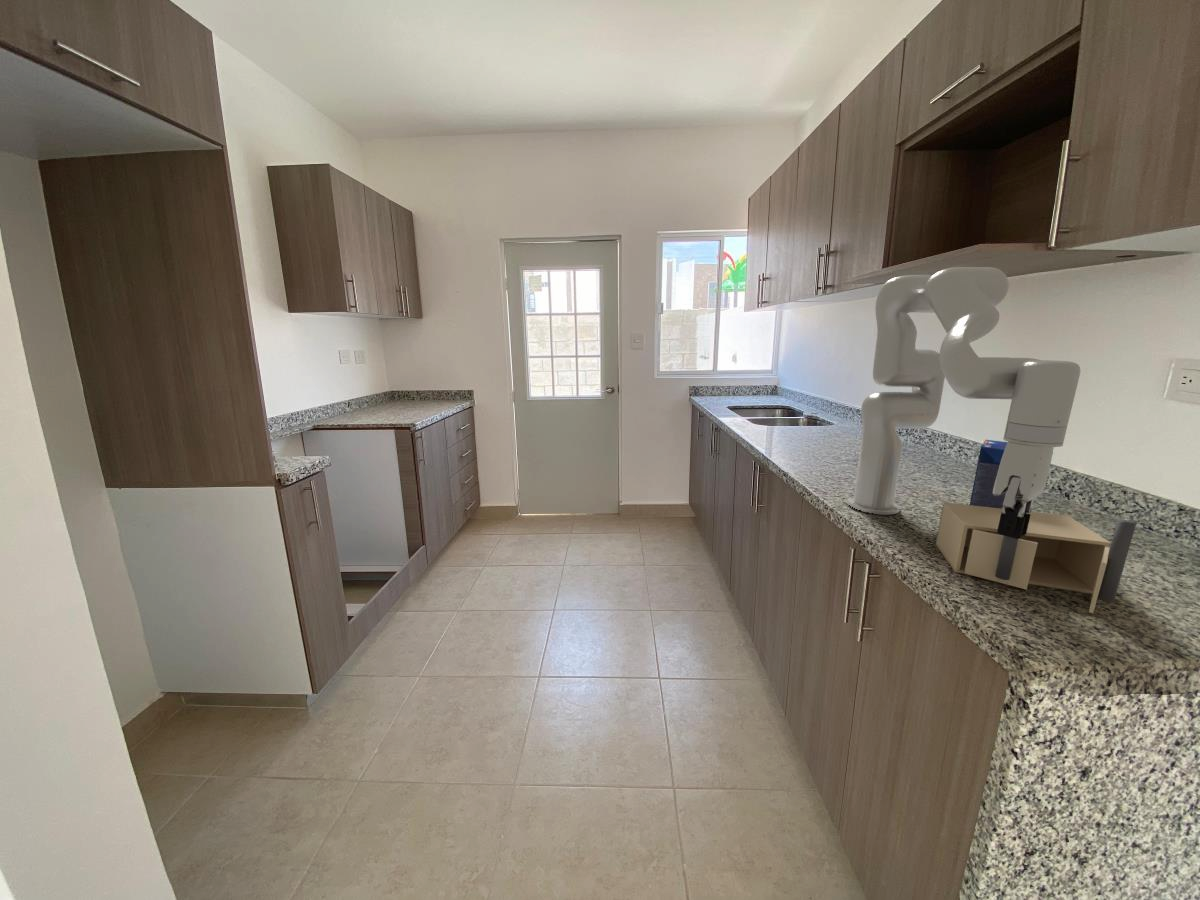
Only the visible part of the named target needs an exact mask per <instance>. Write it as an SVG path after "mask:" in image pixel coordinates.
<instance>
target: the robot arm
mask: <svg viewBox="0 0 1200 900" xmlns="http://www.w3.org/2000/svg"><path fill="white" fill-rule="evenodd" d="M1009 284H1010V283H1009V279H1008V277H1007V275H1006V273H1005V272H1003V270H1001V269H999V268H996V267H993V266H992V267H991V266H981V267H980V266H955V267H949V268H948V267H947V268H945V269H941V270H939V271H937V272H935V273H934V274H907V275H901V276H896V277H893V278H891V279H889V280H887V281H886V282H885V283H884V284H882V286H881V288H880V290H879V291H878V294H877V296H876V300H875V309H874V311H875V319H876V326H877V328H876V329H877V333H876V342H875V351H874V356H873V357H874V359H873V368H872V379H873V381H874V383H875V384H877V385H878V386H882V387H891V388H892V387H896V388H900V387H901V388H911V392H910V391H908V392H907V391H881V392H875V393H872V394H870V395H868V396H867V397H865V398H864V400H863V401H862V404H861V410H860V411H861V412H860V413H861V415H860V416H861V426H862V427H861V440H860V447H859V449H860V450H859V456H858V465H857V471H856V478H855V479H856V480H855V487H854V493H853V496H849V497H848V498H847V500H846V504H847V505H848V506H849V505H850V506H851V507H850V506H849V507H850V508H852V507H853V508H852V509H854V508H855V509H854V510H856V509H857V511H859V510H861V512H863V513H867V512H868V513H869V514H872V513H873V514H872V515H879V516H880V515H882V516H883V515H884V516H885V515H886V516H889V515H896V514H898V513H900V510H901V507H900V504H899V505H898V504H897V503H896V502H895V499H896V498H895V497H896V493H897V492H896V491H897V485H898V477H899V473H900V466H901V460H902V452H903V444H902V443H903V442H902V441H901V438H900V437H899V434H898V433H897V431H896V430H900V429H901V430H902V429H903V430H905V429H909V430H910V429H912V430H913V429H916V430H918V429H919V430H920V429H926V428H929V427H931V426H932V425H934V423H935V422H936V420H937V419H938V417H939V413H940V409H941V403H942V402H941V401H942V395H943V390H944V383H945V379H946V381H947V384H949V386H950V387H951V389H952V390H953V392H955V393H956V394H957V395H959V396H960V397H963V398H966V399H968V400H969V399H970V400H971V399H973V400H976V399H977V400H978V399H979V400H1011V402H1010V406H1009V411H1008V416H1007V420H1006V425H1005V429H1004V434H1003V435H1004V436H1003V441H1004V442H1008V443H1007V445H1006V447H1005V450H1004V453H1003V456H1002V459H1001V462H1000V466H999V469H998V473H997V477H996V480H995V484H994V488H993V492H992V493H993V495H994V496H1000V495H1002V494H1004V493H1006V494H1005V499H1004V502H1003V508H1002V513H1001V516H1000V521H999V525H998V530H997V533H998V534H1001V535H1004V536H1008V537H1012V538H1015V539H1020V538H1021V535H1025V534H1026V533H1027V528H1028V524H1029V520H1030V516H1031V514H1030V512H1032V508H1033V504H1034V500H1035V498H1037V497H1040V496H1041V494H1043V492H1044V491H1045V488H1046V484H1047V482H1048V477H1049V472H1050V469H1051V463H1052V458H1053V454H1054V449H1055V448H1059V447H1063V445H1064V442H1065V437H1066V433H1067V429H1068V425H1069V421H1070V417H1071V414H1072V408H1073V404H1074V401H1075V400H1074V399H1075V397H1076V391H1077V387H1078V385H1079V379H1080V376H1081V375H1080V374H1081V367H1080V365H1079V364H1078V363H1077V362H1074V361H1070V360H1069V361H1068V360H1041V359H1037V358H1031V357H1004V356H1003V357H999V356H998V357H993V356H991V357H990V356H989V357H988V356H986V357H985V356H984V357H979V356H978V354H977V353H976V352H975V351H974V349H973V347H972V346H971V344H970V343H972V342H975V341H977V340H979V339H981V338H983V337H984V336H986V335H988V334H989V333H991V332H992V330H994V329H995V328H996V326H997V325H998V323H999V321H1000V312H999V310H998V309H997V307H996V306H998V305H999V304H1000V303H1001V302H1003V300H1004V299H1005V298H1006V296H1007V294H1008V292H1009V286H1010V285H1009ZM909 313H921V314H922V313H931V314H932V313H933V314H934V313H935V316H936V317H937V319H938V320H939V322H940V324H941V325H942V327H943V328H944V331H945V332H946V335H945V337H944V339H943V340H942V342H941V346H940V349H939V352H938V351H936V350H932V349H920V348H919V349H916V341H917V334H918V332H917V331H918V330H917V326H916V324H915V322H914V321H913V319H912V317H911V316H910V315H909ZM1019 504H1020V506H1019ZM1019 507H1020V508H1019ZM1025 507H1026V508H1025ZM1027 513H1029V514H1027ZM1023 516H1024V517H1023Z"/></svg>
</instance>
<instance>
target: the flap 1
mask: <svg viewBox="0 0 1200 900" xmlns="http://www.w3.org/2000/svg"><path fill="white" fill-rule="evenodd" d="M1019 506H1020V504H1019ZM1019 508H1020V507H1019ZM1025 508H1026V507H1025ZM1023 517H1024V516H1023ZM1037 544H1038V543H1037V542H1032V541H1027V540H1022V539H1015V538H1012V537H1008V536H1003V535H998V534H993V533H988V532H984V531H979V530H974V529H973V532H972V537H971V542H970V547H969V552H968V557H967V562H966V567H965V572H964V573H965V574H964V575H969V576H974V577H977V578H980V579H985V580H987V581H992V582H996V583H1000V584H1004V585H1008V586H1012V587H1015V588H1020V589H1024V590H1028V586H1029V584H1028V582H1029V578H1030V574H1031V569H1032V565H1033V561H1034V557H1035V553H1036V548H1037Z"/></svg>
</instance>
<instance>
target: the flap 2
mask: <svg viewBox="0 0 1200 900" xmlns="http://www.w3.org/2000/svg"><path fill="white" fill-rule="evenodd" d="M1136 526H1137V523H1136V522H1134V521H1132V520H1129V519H1117V521H1116V525H1115V529H1114V532H1113V535H1112V538H1111V539H1112V540H1111V542H1110V543H1111V544H1110V547H1105V550H1104V553H1103V557H1102V561H1101V564H1100V568H1099V572H1098V575H1097V579H1096V583H1095V586H1094V590H1093V594H1092V595H1091V600H1090V605H1089V610H1088V612H1089V613H1091V614H1094V613H1095V612H1094V611H1095V609H1096V604H1097V600H1098V601H1101V602H1103V603H1106V604H1114V603H1115V599H1116V596H1117V591H1118V589H1119V585H1120V583H1121V578H1122V576H1123V571H1124V568H1125V565H1126V561H1127V557H1128V554H1129V551H1130V546H1131V545H1132V540H1133V538H1134V537H1133V536H1134V533H1135V529H1136Z"/></svg>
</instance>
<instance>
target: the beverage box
mask: <svg viewBox="0 0 1200 900" xmlns="http://www.w3.org/2000/svg"><path fill="white" fill-rule="evenodd" d="M1007 443H1008V441H1001V440H992V439H991V440H990V439H985V440H984V441H983V443H982V445H981V446H980V451H979V455H978V460H977V465H976V470H975V476H974V480H973V486H972V491H971V496H970V502H969V505H973V506H982V507H991V508H1001V509H1002V508H1003V502H1004V499H1005V494H1006V493H1004V494H1002V495H1000V496H994V495H993V493H992V492H993V488H994V484H995V480H996V477H997V473H998V469H999V466H1000V462H1001V459H1002V456H1003V453H1004V450H1005V447H1006V445H1007Z"/></svg>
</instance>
